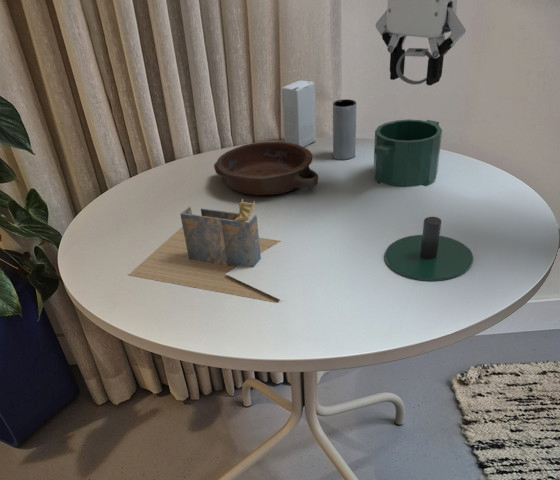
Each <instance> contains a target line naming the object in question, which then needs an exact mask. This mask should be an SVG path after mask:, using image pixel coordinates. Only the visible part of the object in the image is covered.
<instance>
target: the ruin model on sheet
mask: <svg viewBox="0 0 560 480" xmlns="http://www.w3.org/2000/svg"><path fill="white" fill-rule="evenodd" d="M255 204H256V201H255V200H253V202H247V201H246V202H245V201H244V199H243V198H242V199H241V201H240V203H238V208H239V209H238V210H239V212H233V211H225V210H218V209H212V208H211V209H209V208H203V207H201V208H200V214H201V215H198V214H193V212H192V206H187V208H185V209H184V210H183V211H181V213H179V215H180V220H181V227H180V228H179V229H177V231H175V233H173V234H172V235H171V236H170V237H168V239H167V240H165V241H164V242H163V243H162V244H161V245H160V246H159V247H158V248H156V249H155V250H154V251H153V252H152V253H150V255H148V257H146V258H145V259H144V260H143V261H142V262H141V263H139V265H138V266H136V267H135V268H134V269H133V270H132V271H131V272H130V273H128V276H132V277H138V278H143V279H148V280H155V281H159V282H164V283H170V284H175V285H181V286H185V287H191V288H197V289H202V290H207V291H214V292H218V293H224V294H228V295H235V296H239V297H246V298H250V299H251V298H252V299H255V300H262V301H266V302H267V301H268V302H273V303H279V302H280V300H281V299H279V298H277V297H275V296H273V295H271V294H269V293H267V292H265V291H263V290H260V289H258V288H257V287H254V286H251V285H250V284H247V283H245V282H243V281H241V280H239V279H236V278H235V277H232V276H230V275H229V274H228V273H229V272H232V271H233V270H235V269H237V268H238V267H240V266H244V267H250V268H255V266H256V265H258V263H259V262H260V261H261V259H262V257H261V254H262V253H264V252H265V251H267V250H269V249H270V248H272V247H274V246H276V245H277V244H279V243H281V242H282V240H277V239H270V238H264V237H259V235H260V234H259V226H258V216H257V215H256V214H254V215H253V216H251V215H252V213H253V211H254V208H255ZM250 217H251V218H250Z"/></svg>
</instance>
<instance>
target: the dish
mask: <svg viewBox="0 0 560 480" xmlns="http://www.w3.org/2000/svg"><path fill="white" fill-rule="evenodd" d="M313 159H314V156H313V153H312V152H311V150H309V149H308V148H306V147H302V146H300V145H297V144H293V143H289V142H285V141H277V140H276V141H261V142H260V141H259V142H253V143H252V142H251V143H247V144H244V145H241V146H238V147H235V148H233V149H231V150H228V151H226V152H224V153H223V154H221V155H220V156H219V157H218V159H217V160H216V162H215V163H214V165H213V168H214V171H215V173H216V174H217V175H218V176H221V177H223V178H224V181H225V182H226V184H227V185H228V186H229V187H230V188H231V189H232V190H234V191H236V192H239V193H242V194H247V195H254V196H273V195H279V194H286V193H288V192H291V191H294V190H295V189H312V188H315V187H317V186H318V183H319V175H318V173H317V172H316V171H313V169H311V168H310V165H311V164H312V162H313Z"/></svg>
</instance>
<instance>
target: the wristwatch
mask: <svg viewBox="0 0 560 480" xmlns="http://www.w3.org/2000/svg"><path fill="white" fill-rule="evenodd" d="M404 56H405V57H418V58H419V57H421V58H425V57H427V58H428V59H429V58H431V57H432V53H431V51H429V48H422V47H421V48H417V47H409V48H407V49H406V50H405V53H404V54H403V55H402V56H401V57H400V59H399V60H398V63H397V66H396V72H397V75H398V76H399V78H398V79H400V80H401V81H403V82H405V83H406V84H409V85H422V84H423V83H426V78H427V76H426V77H425V78H423V79H419V80H413V79H410V78H407V77H406V76H405V74H404V75H403V74H402V73H401V70H400V63H401V60H402V58H403V57H404Z"/></svg>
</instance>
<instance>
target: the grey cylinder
mask: <svg viewBox="0 0 560 480" xmlns="http://www.w3.org/2000/svg"><path fill="white" fill-rule="evenodd" d="M356 143H357V102H356V101H355V100H354V99H347V98H346V99H337V100H335V101H333V103H332V155H333V156H332V157H333V158H334V159H337V160H343V161H345V160H352V159H353V158H355V157H356V149H357V148H356V147H357V144H356Z"/></svg>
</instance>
